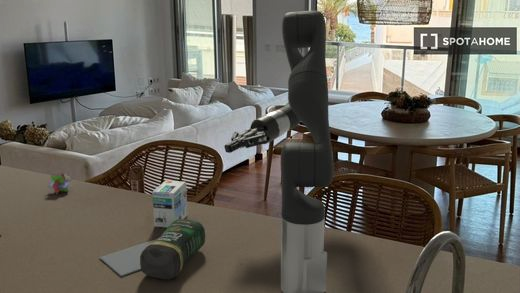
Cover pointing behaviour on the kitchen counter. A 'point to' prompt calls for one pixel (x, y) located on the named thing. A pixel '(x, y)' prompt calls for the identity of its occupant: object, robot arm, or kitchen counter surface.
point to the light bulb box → (169, 203)
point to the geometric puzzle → (60, 183)
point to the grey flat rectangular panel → (126, 259)
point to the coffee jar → (172, 249)
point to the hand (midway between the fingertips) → (226, 149)
